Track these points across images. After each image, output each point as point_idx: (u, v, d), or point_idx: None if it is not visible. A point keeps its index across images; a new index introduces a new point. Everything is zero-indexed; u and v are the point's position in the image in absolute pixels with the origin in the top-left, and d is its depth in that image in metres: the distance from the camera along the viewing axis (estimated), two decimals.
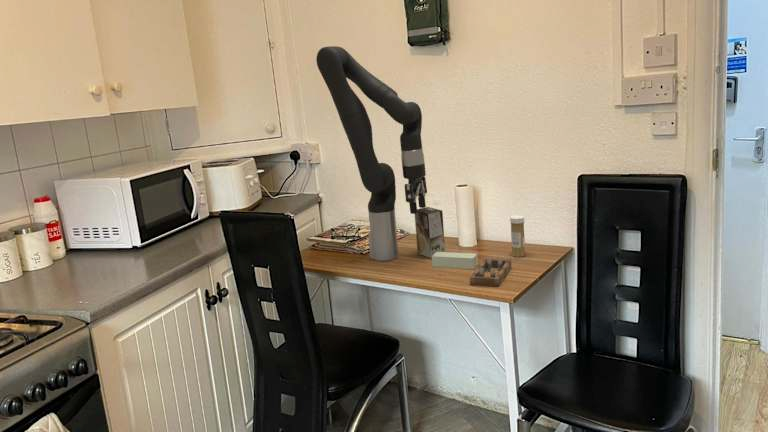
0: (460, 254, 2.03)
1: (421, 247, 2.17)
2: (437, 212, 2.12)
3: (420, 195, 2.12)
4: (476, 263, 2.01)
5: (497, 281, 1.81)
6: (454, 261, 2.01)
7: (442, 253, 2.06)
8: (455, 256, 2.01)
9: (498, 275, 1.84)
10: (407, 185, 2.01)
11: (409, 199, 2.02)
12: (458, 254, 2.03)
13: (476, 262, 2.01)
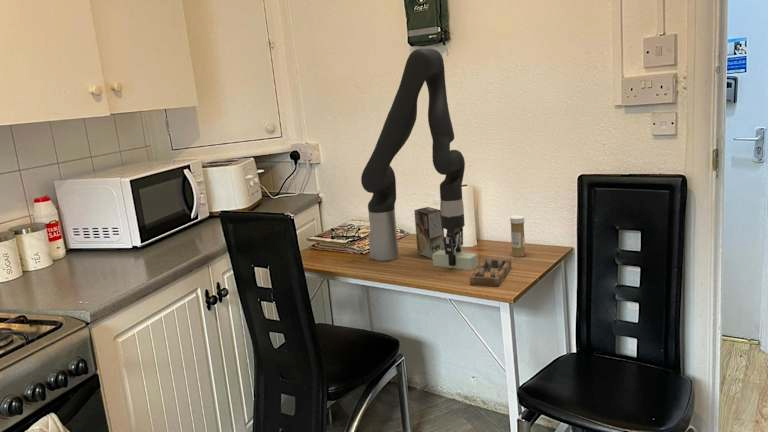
0: (460, 253, 2.02)
1: (421, 247, 2.17)
2: (437, 212, 2.12)
3: (456, 247, 2.05)
4: (475, 263, 2.00)
5: (497, 281, 1.81)
6: None
7: (444, 251, 2.06)
8: None
9: (498, 275, 1.84)
10: (446, 239, 1.95)
11: (449, 252, 1.97)
12: (458, 253, 2.03)
13: (475, 262, 2.00)
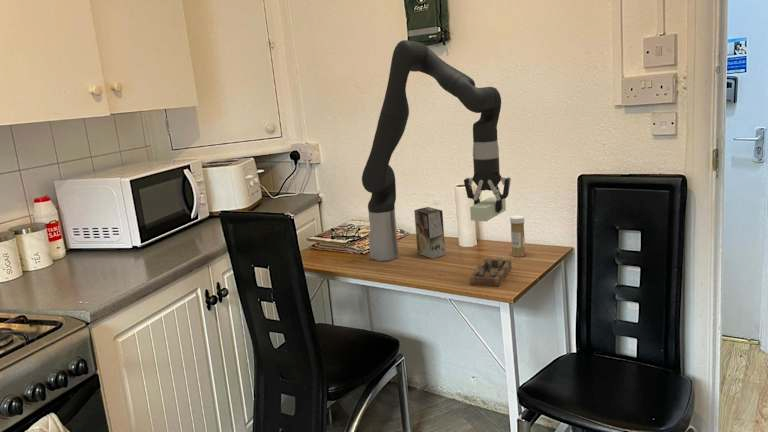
0: (488, 203, 1.84)
1: (421, 247, 2.17)
2: (437, 212, 2.12)
3: None
4: (481, 217, 1.80)
5: (497, 281, 1.81)
6: None
7: None
8: (482, 202, 1.86)
9: (498, 275, 1.84)
10: None
11: None
12: (488, 203, 1.84)
13: (481, 216, 1.80)
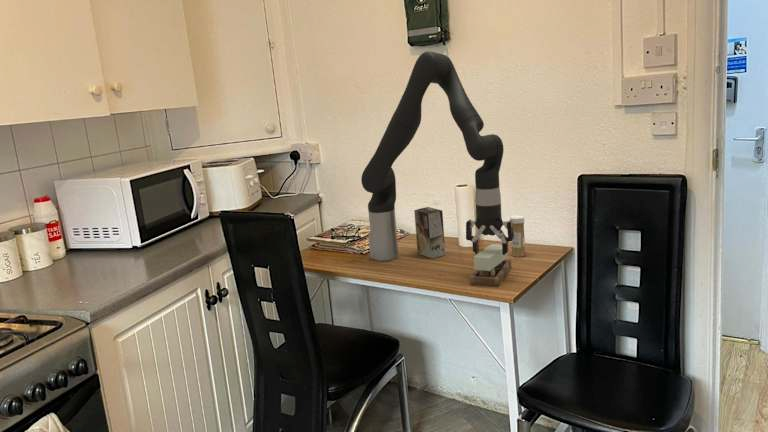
0: (490, 252, 1.87)
1: (421, 247, 2.17)
2: (437, 212, 2.12)
3: None
4: (484, 267, 1.84)
5: (497, 281, 1.81)
6: None
7: (499, 247, 1.92)
8: (484, 251, 1.89)
9: (498, 275, 1.84)
10: None
11: None
12: (491, 252, 1.88)
13: (484, 265, 1.84)
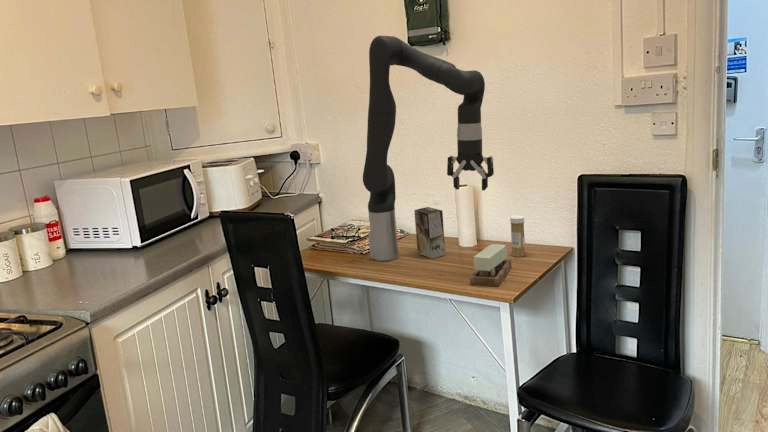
0: (490, 252, 1.87)
1: (421, 247, 2.17)
2: (437, 212, 2.12)
3: None
4: (484, 267, 1.84)
5: (497, 281, 1.81)
6: None
7: (499, 247, 1.92)
8: (484, 251, 1.89)
9: (498, 275, 1.84)
10: None
11: None
12: (491, 252, 1.88)
13: (484, 265, 1.84)
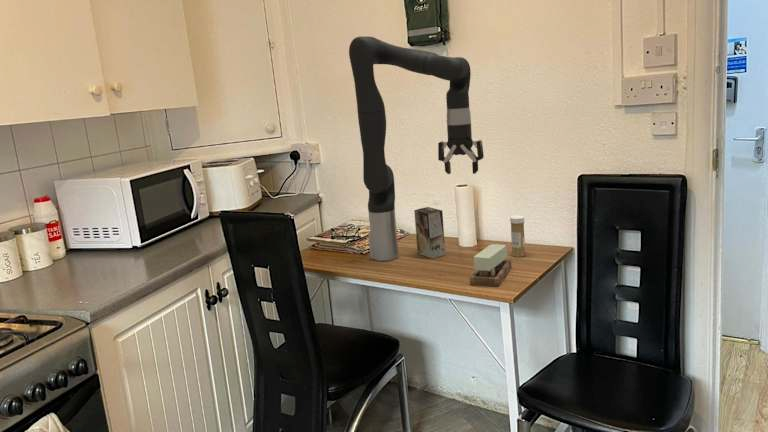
0: (490, 252, 1.87)
1: (421, 247, 2.17)
2: (437, 212, 2.12)
3: None
4: (484, 267, 1.84)
5: (497, 281, 1.81)
6: None
7: (499, 247, 1.92)
8: (484, 251, 1.89)
9: (498, 275, 1.84)
10: None
11: None
12: (491, 252, 1.88)
13: (484, 265, 1.84)
